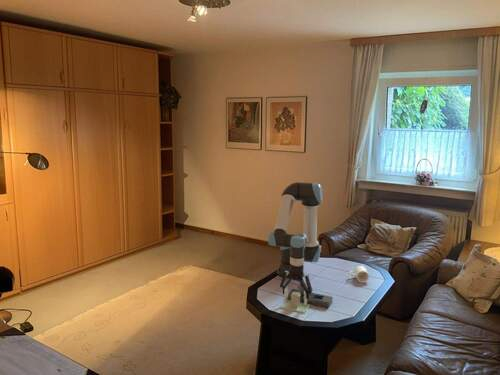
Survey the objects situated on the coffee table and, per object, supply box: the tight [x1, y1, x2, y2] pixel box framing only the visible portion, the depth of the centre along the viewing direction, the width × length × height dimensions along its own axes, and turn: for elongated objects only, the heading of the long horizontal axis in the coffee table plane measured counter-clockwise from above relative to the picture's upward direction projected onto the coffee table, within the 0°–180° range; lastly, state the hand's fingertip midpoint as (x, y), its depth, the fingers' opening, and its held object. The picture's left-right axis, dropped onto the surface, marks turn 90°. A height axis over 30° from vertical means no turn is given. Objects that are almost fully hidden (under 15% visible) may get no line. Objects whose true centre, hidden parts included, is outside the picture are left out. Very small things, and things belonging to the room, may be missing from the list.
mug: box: [348, 265, 370, 283], centre depth 267 cm, size 12×10×8 cm
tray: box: [279, 299, 311, 314], centre depth 226 cm, size 14×10×1 cm
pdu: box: [287, 283, 334, 309], centre depth 233 cm, size 24×8×12 cm, turn 64°
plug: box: [291, 291, 301, 309], centre depth 226 cm, size 4×4×8 cm
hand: (295, 301), depth 226 cm, fingers open, 11 cm apart
